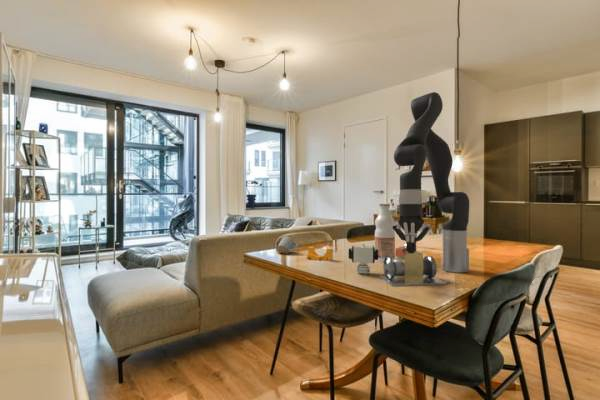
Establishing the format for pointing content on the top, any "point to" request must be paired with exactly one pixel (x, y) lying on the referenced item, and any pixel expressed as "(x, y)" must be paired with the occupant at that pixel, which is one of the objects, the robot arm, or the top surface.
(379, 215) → the fruit juice
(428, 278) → the valve body
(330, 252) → the pipe clamp
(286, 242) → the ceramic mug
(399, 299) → the top surface
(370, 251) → the pneumatic valve
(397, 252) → the lever
